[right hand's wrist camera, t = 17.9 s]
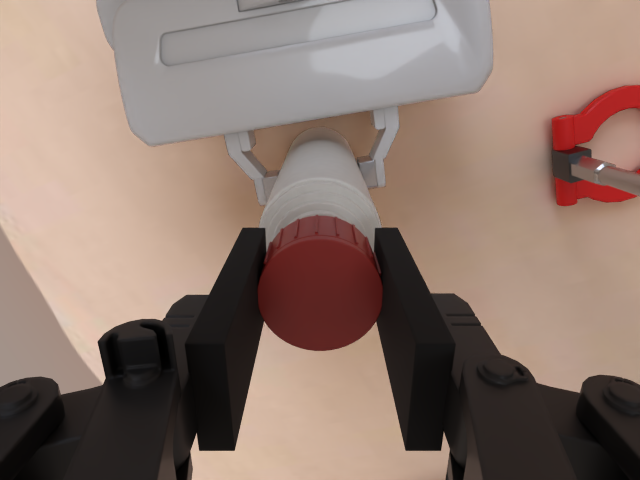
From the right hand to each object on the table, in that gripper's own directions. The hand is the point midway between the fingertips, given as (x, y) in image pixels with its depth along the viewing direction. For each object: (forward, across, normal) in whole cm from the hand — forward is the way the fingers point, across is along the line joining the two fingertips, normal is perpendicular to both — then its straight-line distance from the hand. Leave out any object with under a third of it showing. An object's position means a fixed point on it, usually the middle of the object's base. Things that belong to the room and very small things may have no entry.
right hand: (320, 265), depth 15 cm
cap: (-2, 0, 0) cm, 2 cm away
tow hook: (+19, +22, +1) cm, 29 cm away
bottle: (+19, 0, 0) cm, 19 cm away
